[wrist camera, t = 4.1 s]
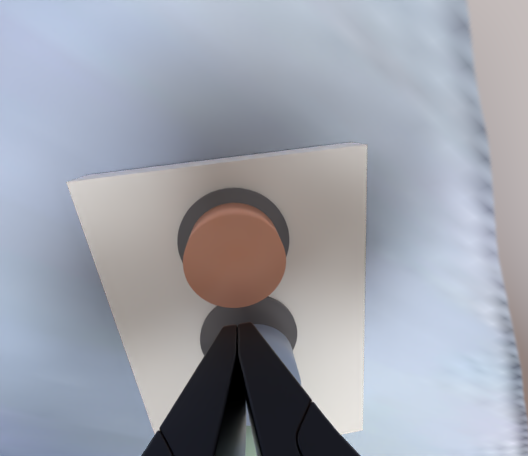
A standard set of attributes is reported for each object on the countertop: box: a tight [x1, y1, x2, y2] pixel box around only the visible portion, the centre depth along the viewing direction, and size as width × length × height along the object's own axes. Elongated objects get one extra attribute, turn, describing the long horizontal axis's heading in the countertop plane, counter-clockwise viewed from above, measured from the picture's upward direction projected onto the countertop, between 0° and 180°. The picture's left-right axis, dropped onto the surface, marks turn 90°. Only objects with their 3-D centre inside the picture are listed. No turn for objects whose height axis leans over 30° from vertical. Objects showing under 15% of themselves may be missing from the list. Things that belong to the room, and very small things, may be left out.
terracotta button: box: [183, 203, 286, 308], centre depth 13 cm, size 4×4×2 cm
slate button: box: [246, 324, 301, 426], centre depth 14 cm, size 4×4×2 cm
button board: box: [66, 142, 367, 435], centre depth 18 cm, size 20×14×2 cm
